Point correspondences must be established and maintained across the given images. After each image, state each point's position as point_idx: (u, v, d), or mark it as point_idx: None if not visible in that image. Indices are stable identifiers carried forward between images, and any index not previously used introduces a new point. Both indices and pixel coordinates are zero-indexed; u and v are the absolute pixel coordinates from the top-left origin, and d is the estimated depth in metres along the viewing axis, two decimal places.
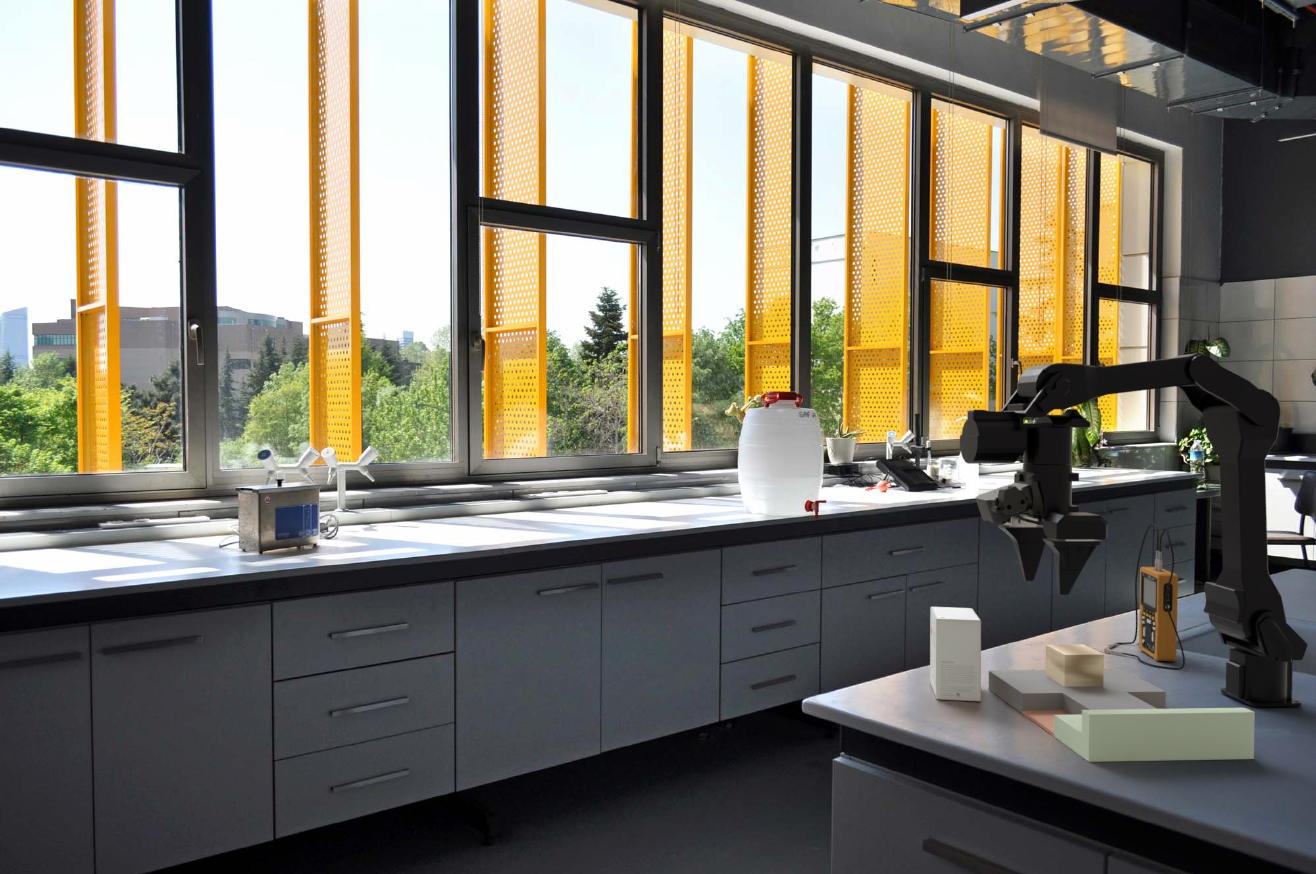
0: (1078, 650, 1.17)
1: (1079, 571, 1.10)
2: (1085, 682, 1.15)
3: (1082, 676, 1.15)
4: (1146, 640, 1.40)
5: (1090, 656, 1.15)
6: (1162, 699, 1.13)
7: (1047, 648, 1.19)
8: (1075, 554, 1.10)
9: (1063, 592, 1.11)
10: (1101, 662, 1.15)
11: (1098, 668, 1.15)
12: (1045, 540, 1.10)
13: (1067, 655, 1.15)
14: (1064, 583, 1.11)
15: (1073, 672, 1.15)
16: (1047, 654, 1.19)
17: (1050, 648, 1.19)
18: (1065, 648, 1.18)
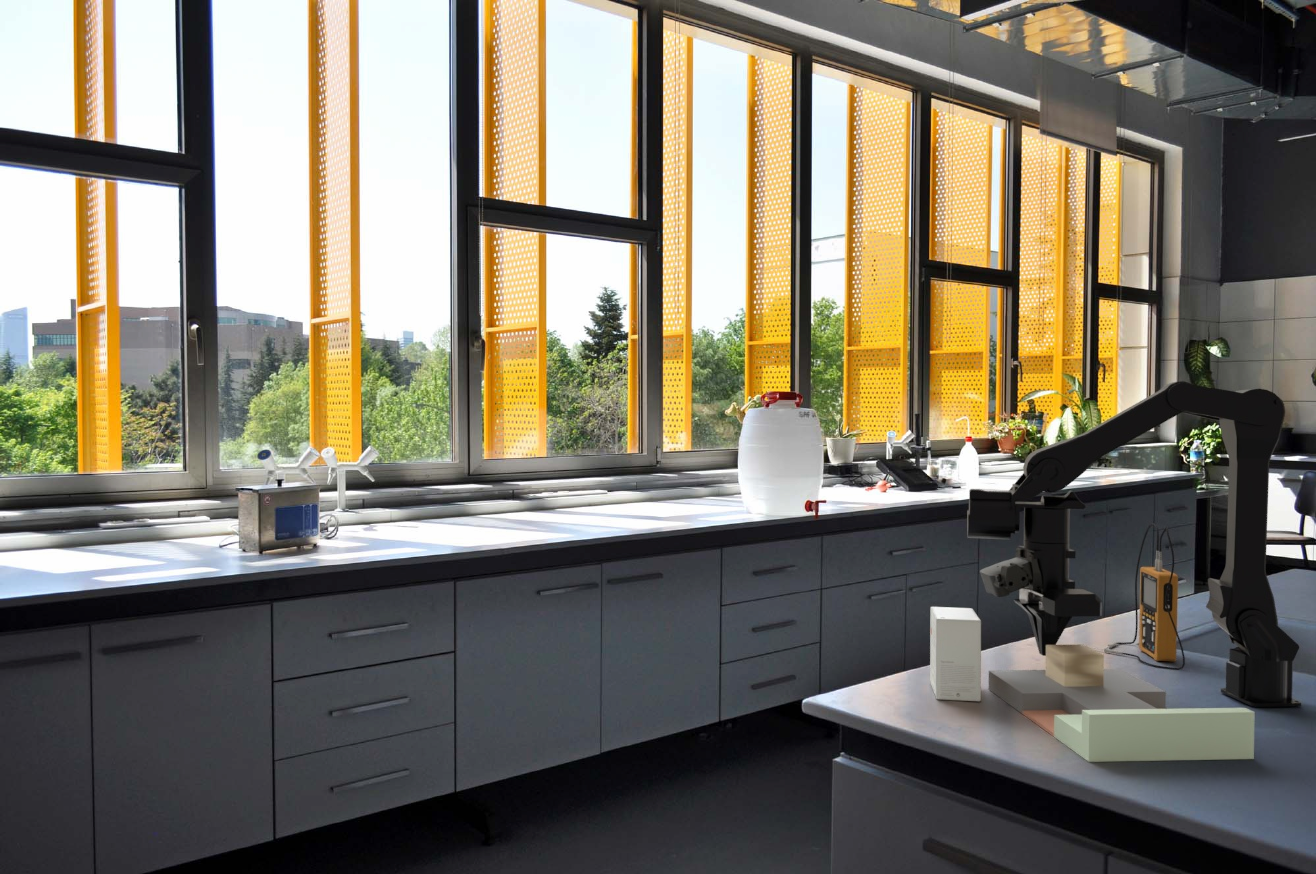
0: (1078, 650, 1.17)
1: (1059, 635, 1.24)
2: (1085, 682, 1.15)
3: (1082, 676, 1.15)
4: (1146, 640, 1.40)
5: (1090, 656, 1.15)
6: (1162, 699, 1.13)
7: (1047, 648, 1.19)
8: (1055, 620, 1.24)
9: (1045, 653, 1.25)
10: (1101, 662, 1.15)
11: (1098, 668, 1.15)
12: (1029, 608, 1.24)
13: (1067, 655, 1.15)
14: None
15: (1073, 672, 1.15)
16: (1047, 654, 1.19)
17: (1050, 648, 1.19)
18: (1065, 648, 1.18)
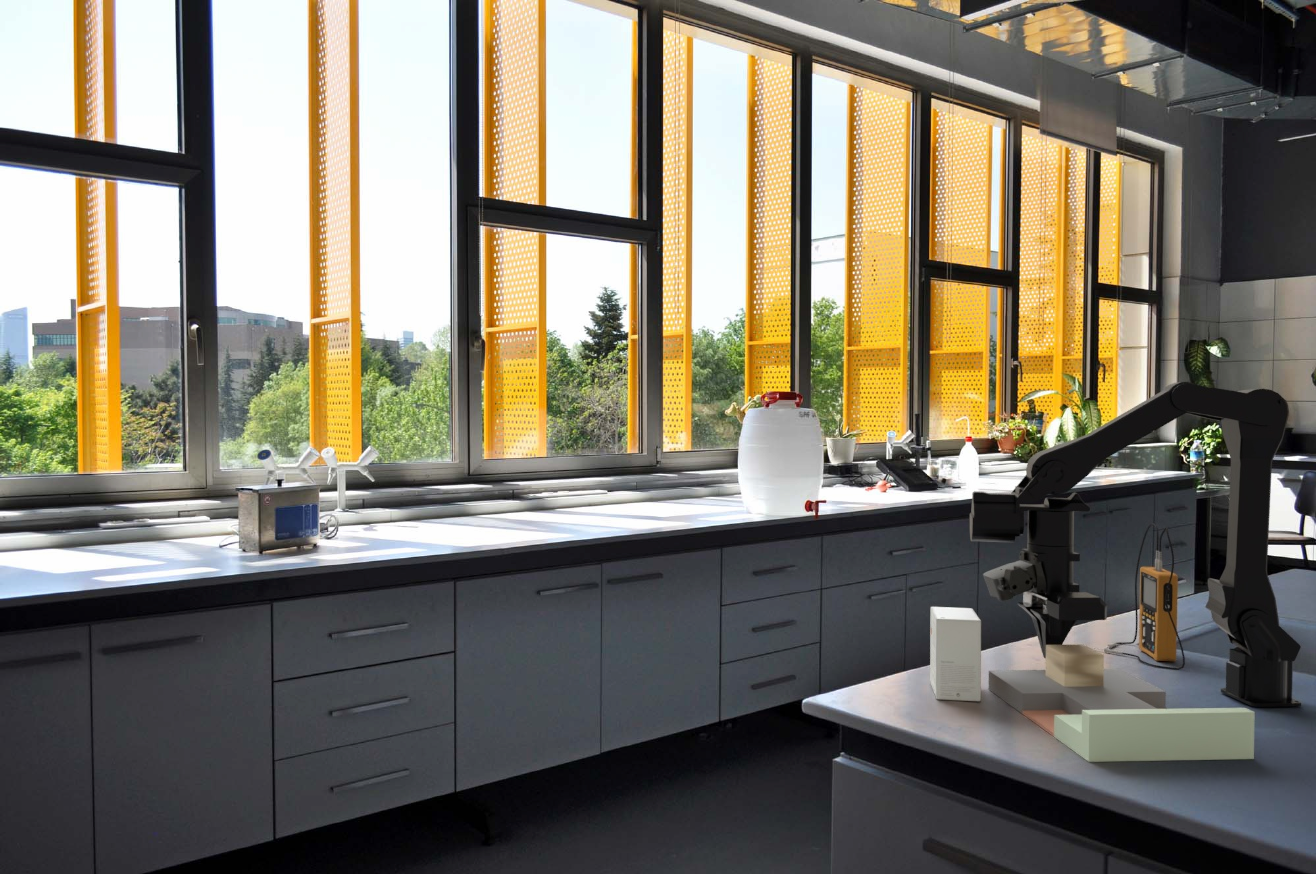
0: (1078, 650, 1.17)
1: (1063, 639, 1.23)
2: (1085, 682, 1.15)
3: (1082, 676, 1.15)
4: (1146, 640, 1.40)
5: (1090, 656, 1.15)
6: (1162, 699, 1.13)
7: (1047, 648, 1.19)
8: (1059, 623, 1.23)
9: None
10: (1101, 662, 1.15)
11: (1098, 668, 1.15)
12: (1033, 611, 1.23)
13: (1067, 655, 1.15)
14: None
15: (1073, 672, 1.15)
16: (1047, 654, 1.19)
17: (1050, 648, 1.19)
18: (1065, 648, 1.18)
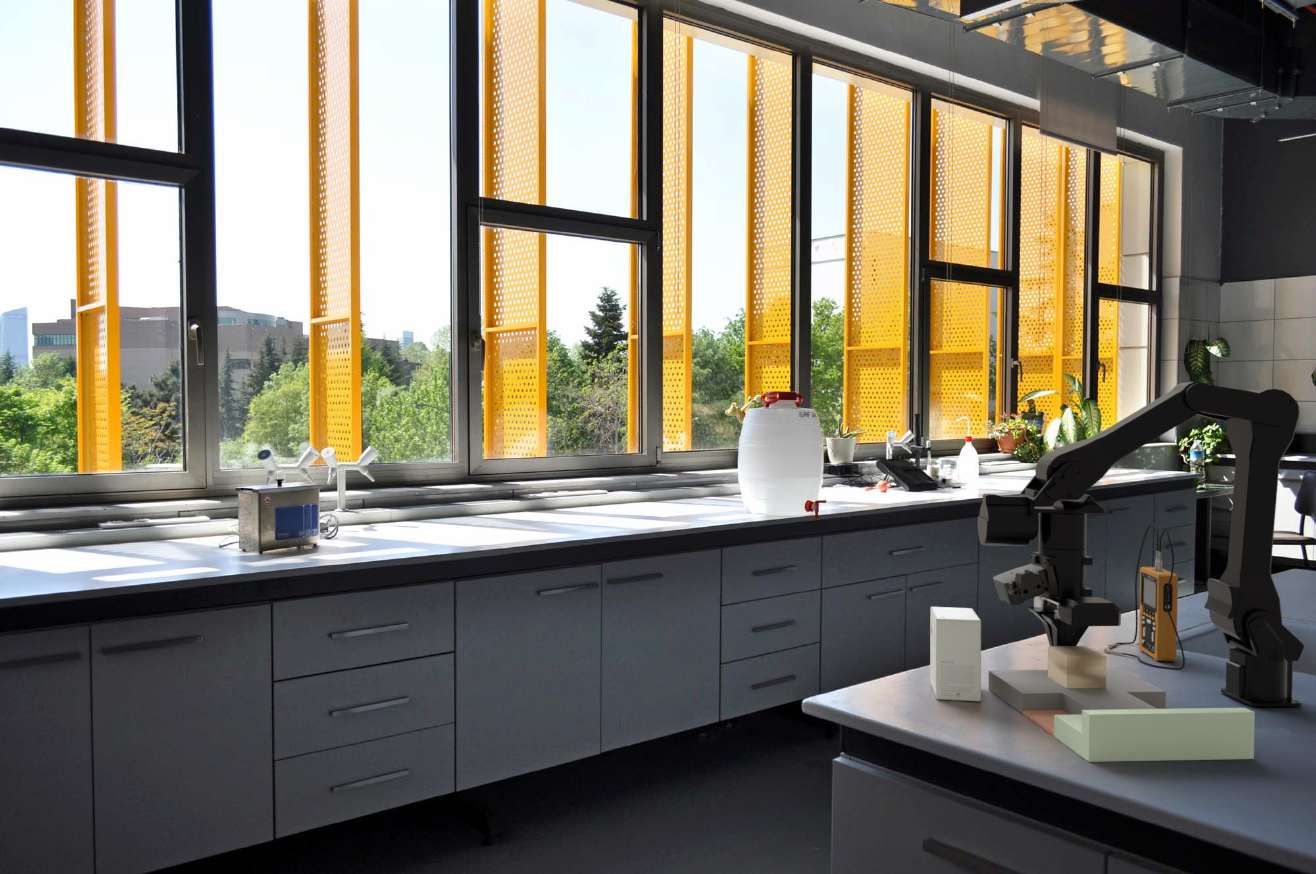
0: (1080, 651, 1.16)
1: (1075, 644, 1.20)
2: (1087, 684, 1.14)
3: (1084, 678, 1.14)
4: (1146, 640, 1.40)
5: (1092, 657, 1.14)
6: (1162, 699, 1.13)
7: (1049, 649, 1.19)
8: (1071, 629, 1.19)
9: None
10: (1104, 664, 1.14)
11: (1100, 670, 1.14)
12: (1044, 616, 1.19)
13: (1069, 656, 1.14)
14: None
15: (1075, 674, 1.14)
16: (1049, 656, 1.19)
17: (1052, 649, 1.18)
18: (1067, 649, 1.17)
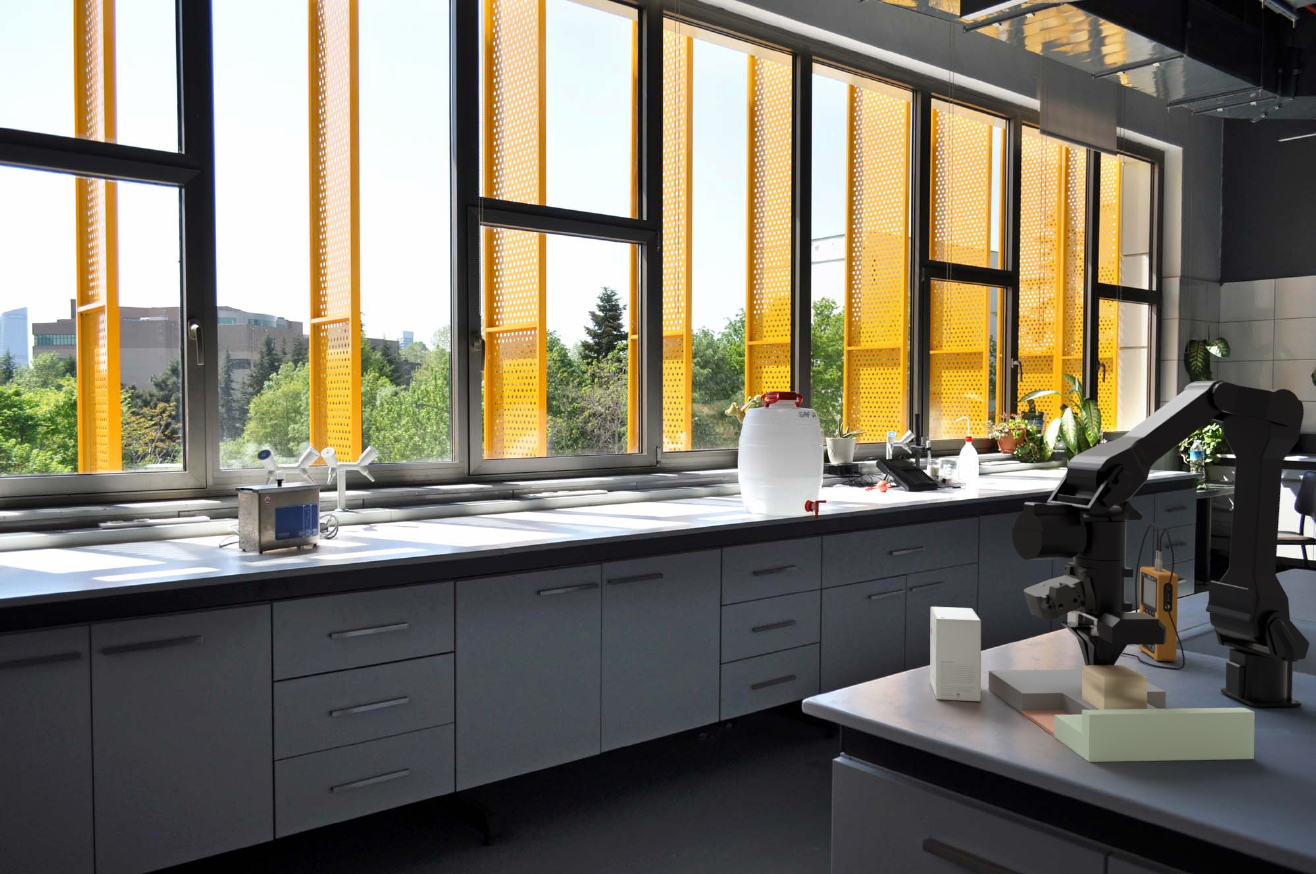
0: (1118, 672, 1.07)
1: (1113, 663, 1.11)
2: (1127, 707, 1.05)
3: (1124, 701, 1.05)
4: None
5: (1132, 678, 1.05)
6: (1162, 699, 1.13)
7: (1084, 669, 1.09)
8: (1109, 646, 1.10)
9: None
10: (1144, 685, 1.05)
11: (1141, 692, 1.05)
12: (1079, 632, 1.10)
13: (1107, 677, 1.05)
14: None
15: (1114, 696, 1.05)
16: (1084, 676, 1.10)
17: (1087, 669, 1.09)
18: (1104, 669, 1.08)
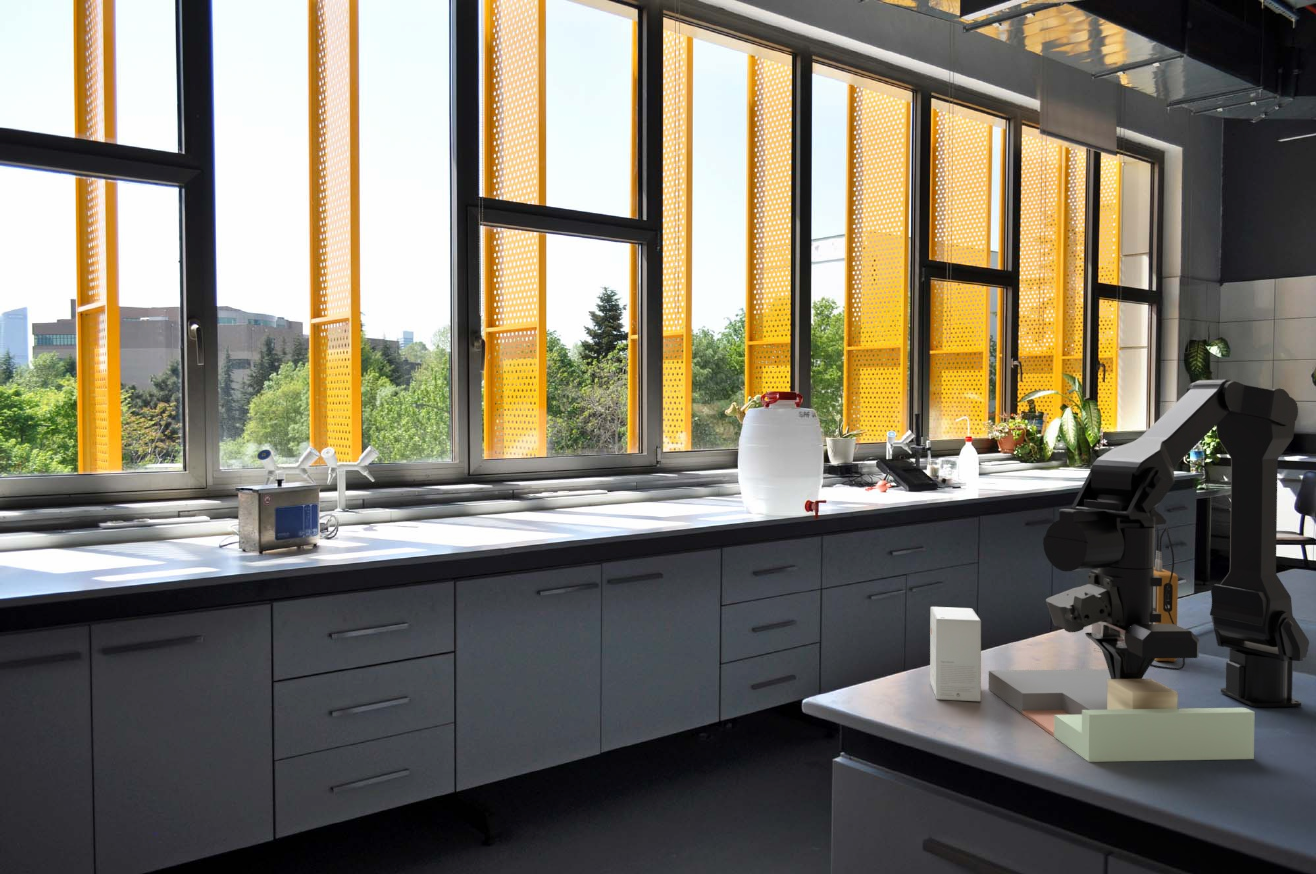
0: (1147, 686, 1.01)
1: (1141, 676, 1.05)
2: None
3: None
4: None
5: (1161, 693, 0.99)
6: None
7: (1109, 683, 1.04)
8: (1137, 659, 1.05)
9: None
10: (1174, 701, 0.99)
11: (1171, 708, 0.99)
12: (1105, 644, 1.05)
13: (1135, 693, 0.99)
14: None
15: None
16: (1109, 690, 1.04)
17: (1113, 683, 1.03)
18: (1131, 684, 1.02)
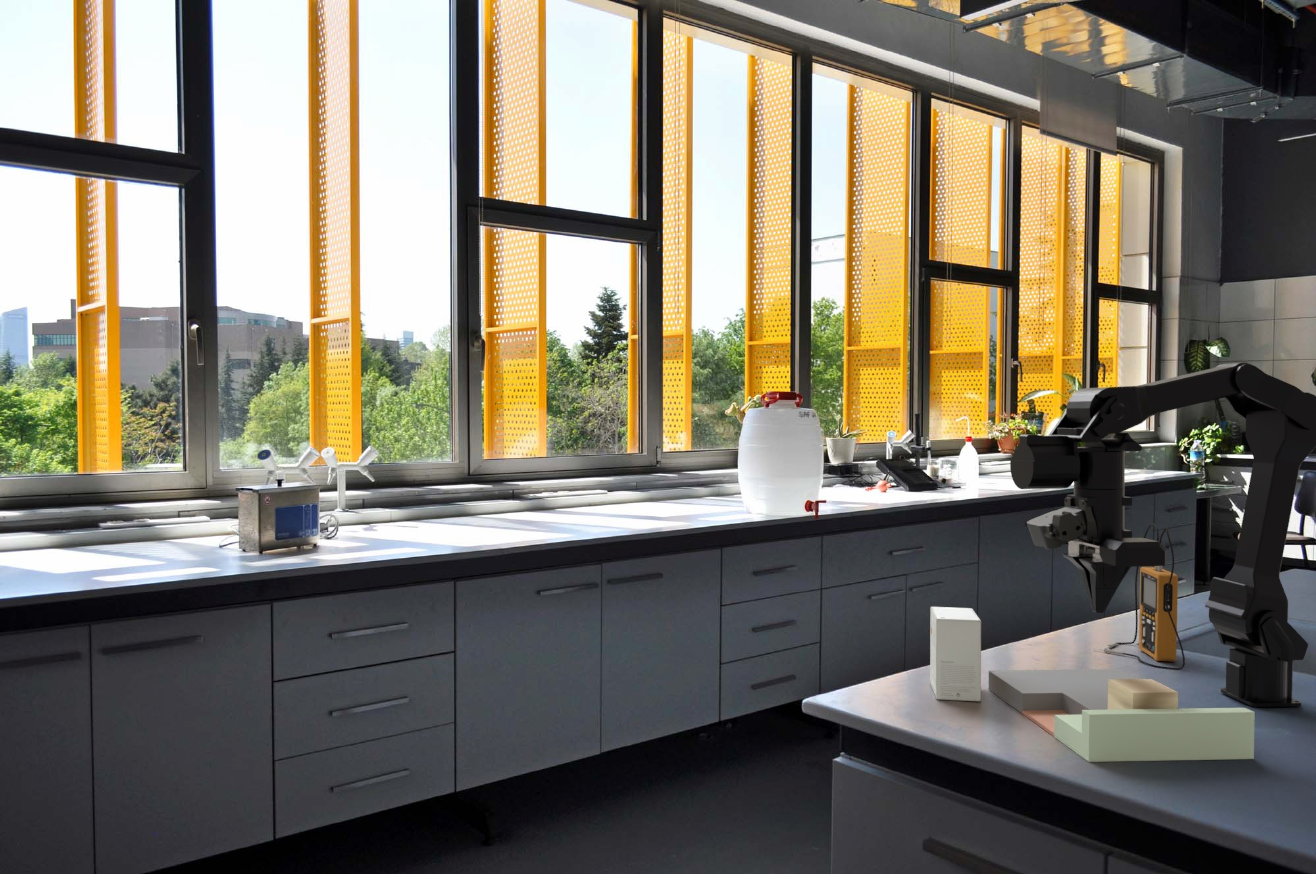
0: (1147, 686, 1.01)
1: (1114, 590, 1.14)
2: None
3: None
4: (1146, 640, 1.40)
5: (1162, 694, 0.99)
6: None
7: (1110, 683, 1.04)
8: (1110, 573, 1.14)
9: (1099, 610, 1.15)
10: (1175, 701, 0.99)
11: (1171, 708, 0.99)
12: (1082, 560, 1.13)
13: (1136, 693, 0.99)
14: (1100, 602, 1.14)
15: None
16: (1109, 691, 1.04)
17: (1114, 684, 1.03)
18: (1131, 684, 1.02)
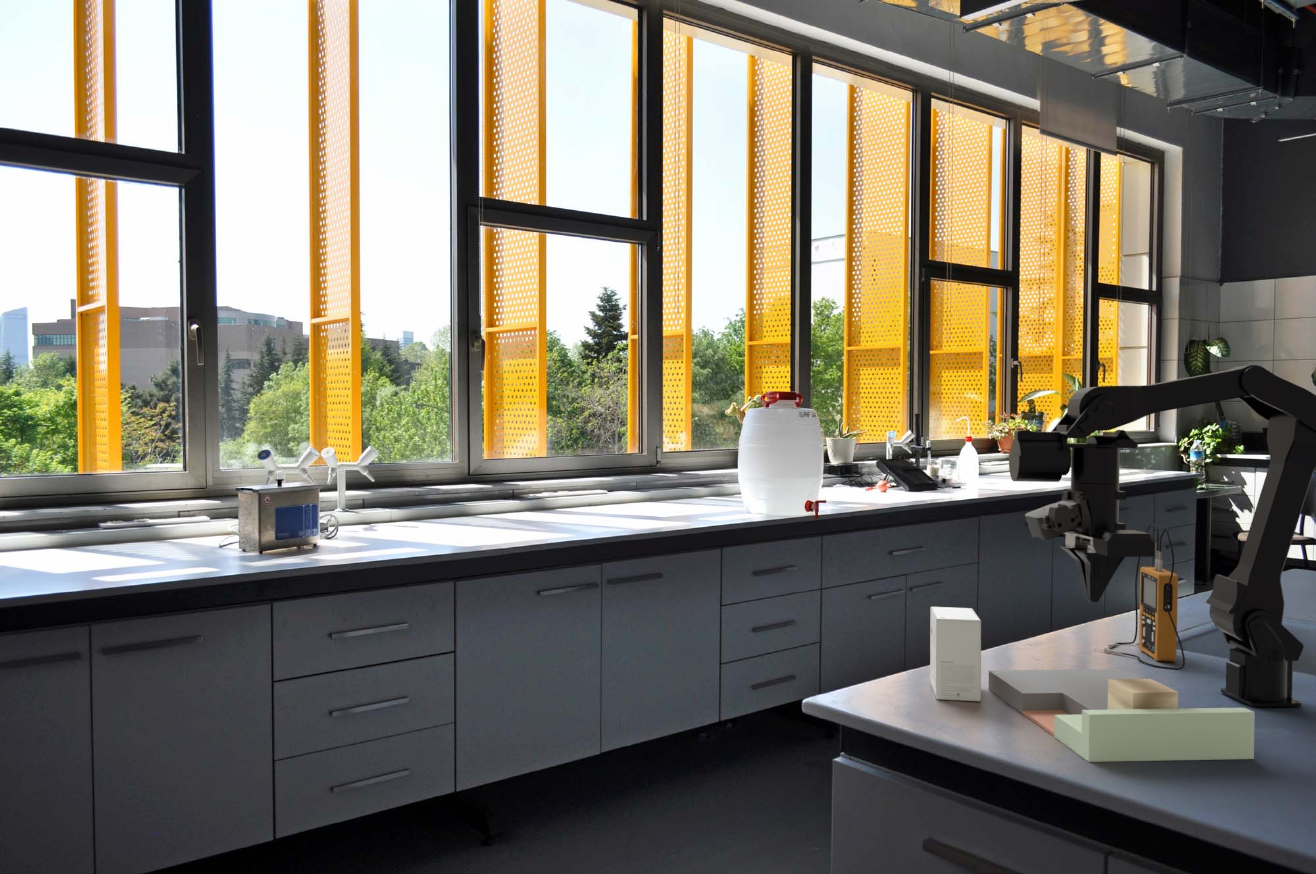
0: (1147, 686, 1.01)
1: (1108, 580, 1.19)
2: None
3: None
4: (1146, 640, 1.40)
5: (1162, 694, 0.99)
6: None
7: (1110, 683, 1.04)
8: (1105, 564, 1.19)
9: (1093, 599, 1.20)
10: (1175, 701, 0.99)
11: (1171, 708, 0.99)
12: (1077, 551, 1.19)
13: (1136, 693, 0.99)
14: (1094, 591, 1.20)
15: None
16: (1109, 691, 1.04)
17: (1114, 684, 1.03)
18: (1131, 684, 1.02)
